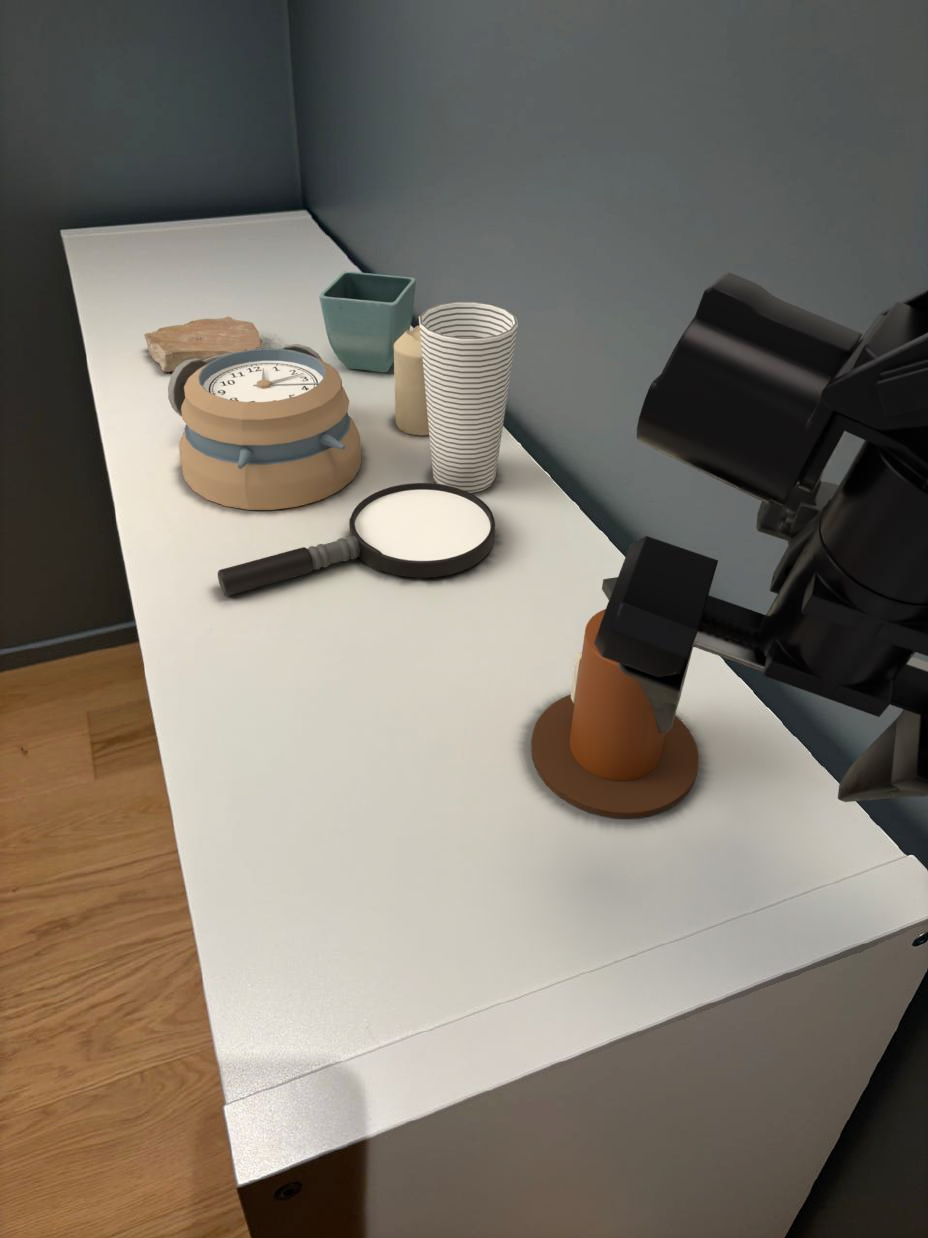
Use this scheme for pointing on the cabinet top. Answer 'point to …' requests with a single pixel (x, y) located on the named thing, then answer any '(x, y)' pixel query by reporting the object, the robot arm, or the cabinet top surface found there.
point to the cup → (466, 388)
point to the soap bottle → (611, 714)
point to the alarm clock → (264, 428)
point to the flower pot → (367, 317)
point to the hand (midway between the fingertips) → (751, 759)
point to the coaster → (609, 795)
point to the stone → (201, 340)
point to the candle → (410, 384)
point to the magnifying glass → (389, 538)
